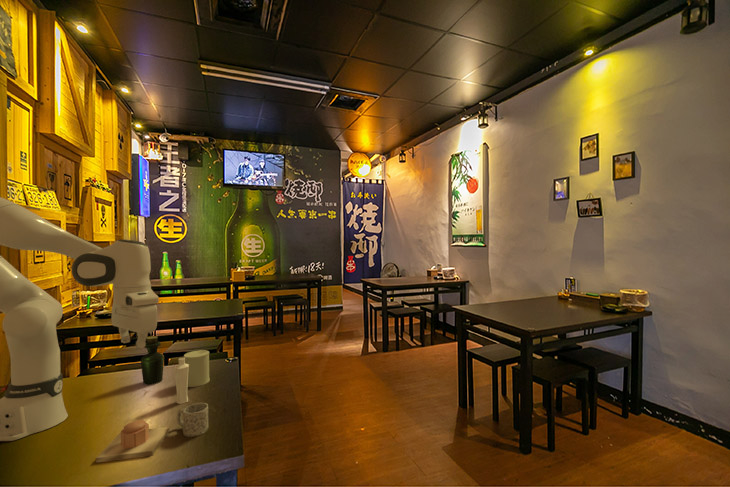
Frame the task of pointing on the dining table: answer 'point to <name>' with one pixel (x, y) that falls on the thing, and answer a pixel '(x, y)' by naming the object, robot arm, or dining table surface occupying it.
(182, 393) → the perfume bottle
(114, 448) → the board
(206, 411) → the mug
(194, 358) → the can
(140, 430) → the cap
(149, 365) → the potion bottle
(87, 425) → the dining table surface
